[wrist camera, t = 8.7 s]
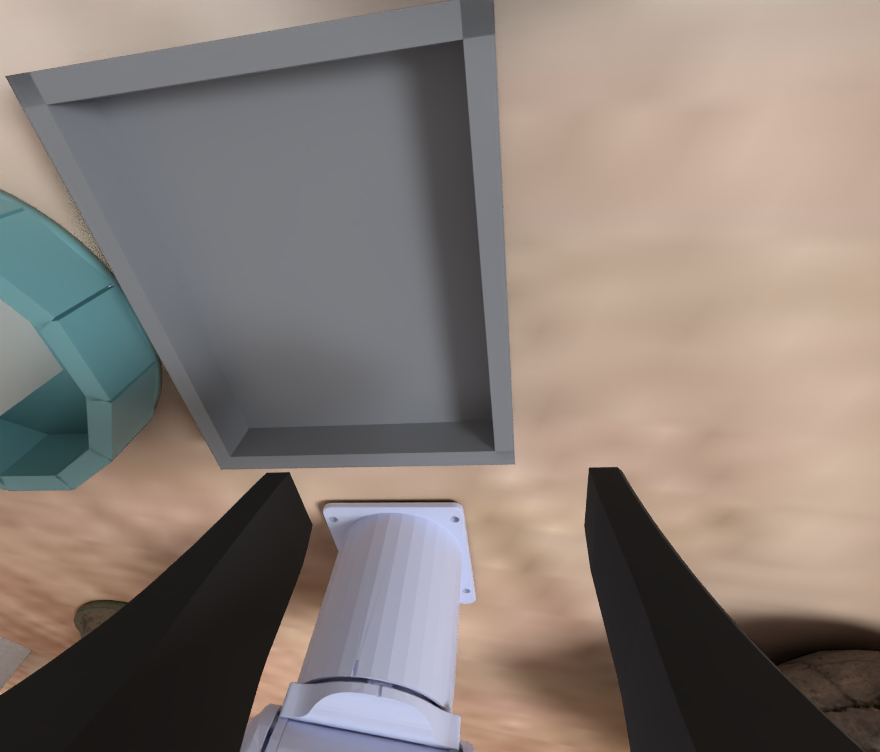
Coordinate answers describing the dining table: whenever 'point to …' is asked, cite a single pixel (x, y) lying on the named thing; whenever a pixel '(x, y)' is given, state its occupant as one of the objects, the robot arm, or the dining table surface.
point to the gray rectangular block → (21, 358)
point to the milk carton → (10, 659)
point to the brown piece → (843, 690)
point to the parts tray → (307, 231)
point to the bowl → (71, 357)
